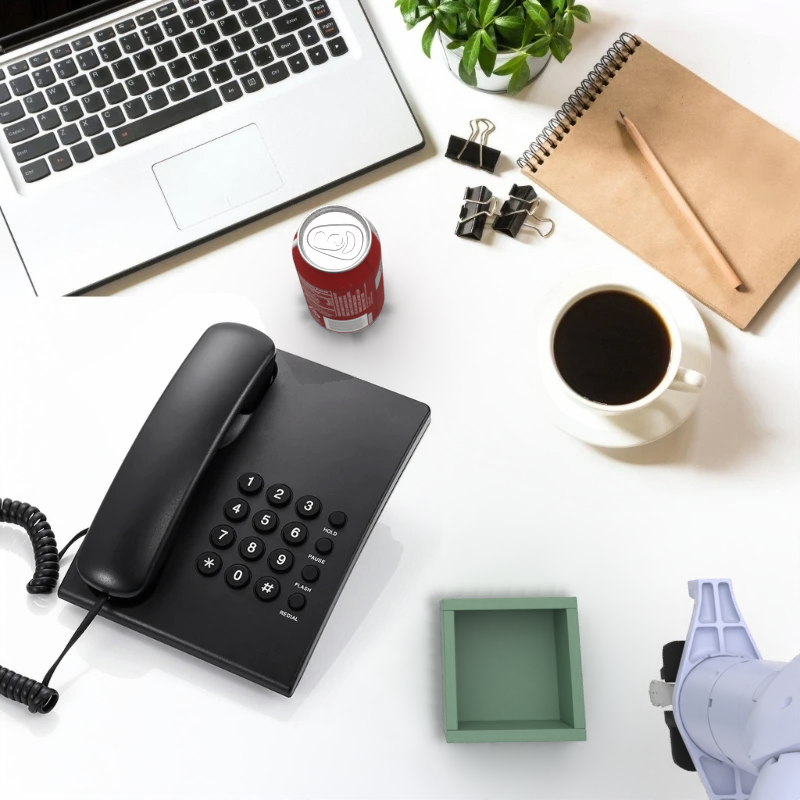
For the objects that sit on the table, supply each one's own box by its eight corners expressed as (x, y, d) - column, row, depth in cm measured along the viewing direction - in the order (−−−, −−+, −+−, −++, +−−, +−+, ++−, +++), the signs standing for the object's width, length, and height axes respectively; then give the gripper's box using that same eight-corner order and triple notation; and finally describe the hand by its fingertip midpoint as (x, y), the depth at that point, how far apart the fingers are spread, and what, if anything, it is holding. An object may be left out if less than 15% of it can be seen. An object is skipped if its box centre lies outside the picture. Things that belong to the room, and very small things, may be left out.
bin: (569, 729, 61) (587, 741, 55) (442, 731, 61) (446, 743, 55) (560, 599, 64) (576, 596, 57) (439, 600, 64) (442, 598, 58)
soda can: (378, 342, 69) (371, 286, 58) (301, 330, 70) (280, 272, 58) (390, 270, 71) (387, 202, 60) (315, 260, 72) (297, 190, 60)
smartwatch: (642, 706, 56) (660, 711, 52) (641, 674, 56) (659, 676, 53) (694, 709, 56) (716, 714, 52) (692, 677, 56) (714, 679, 53)
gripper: (863, 872, 40) (749, 811, 53) (818, 573, 44) (723, 585, 57) (720, 874, 40) (642, 812, 53) (688, 575, 44) (623, 586, 57)
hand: (677, 694), depth 55 cm, fingers closed on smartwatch, 2 cm apart
